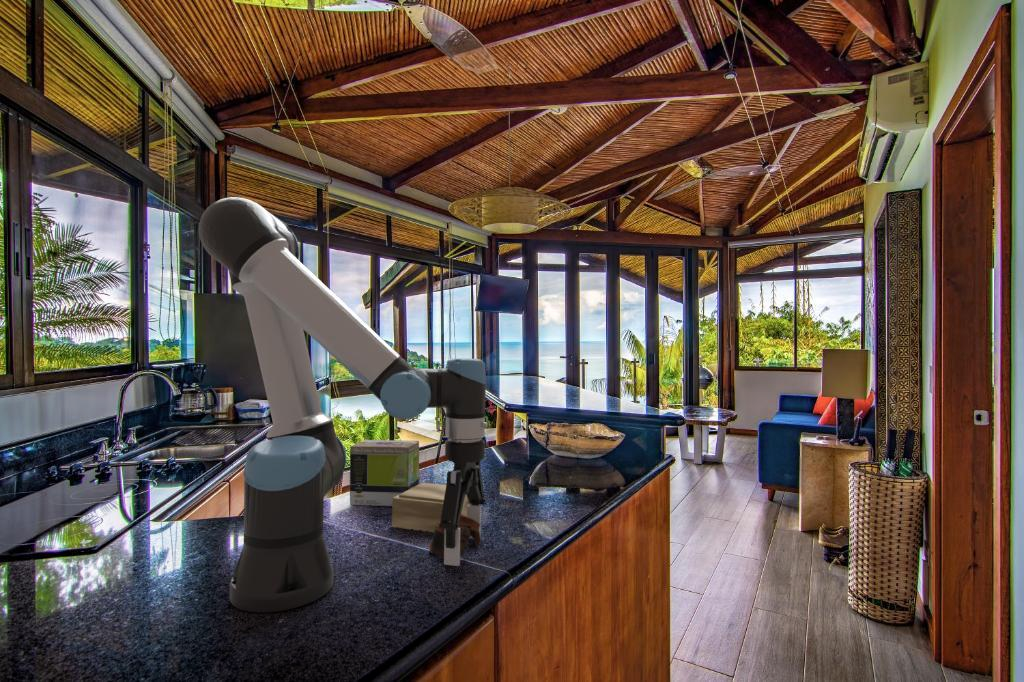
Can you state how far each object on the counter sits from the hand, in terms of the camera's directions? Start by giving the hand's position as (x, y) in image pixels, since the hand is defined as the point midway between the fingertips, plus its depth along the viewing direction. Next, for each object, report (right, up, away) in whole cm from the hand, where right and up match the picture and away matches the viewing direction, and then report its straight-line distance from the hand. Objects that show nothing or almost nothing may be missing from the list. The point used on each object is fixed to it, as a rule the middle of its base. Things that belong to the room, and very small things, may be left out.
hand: (463, 550), depth 99 cm
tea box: (-23, -1, +32) cm, 39 cm away
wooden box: (-9, -1, +17) cm, 19 cm away
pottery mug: (-1, 0, 0) cm, 1 cm away
